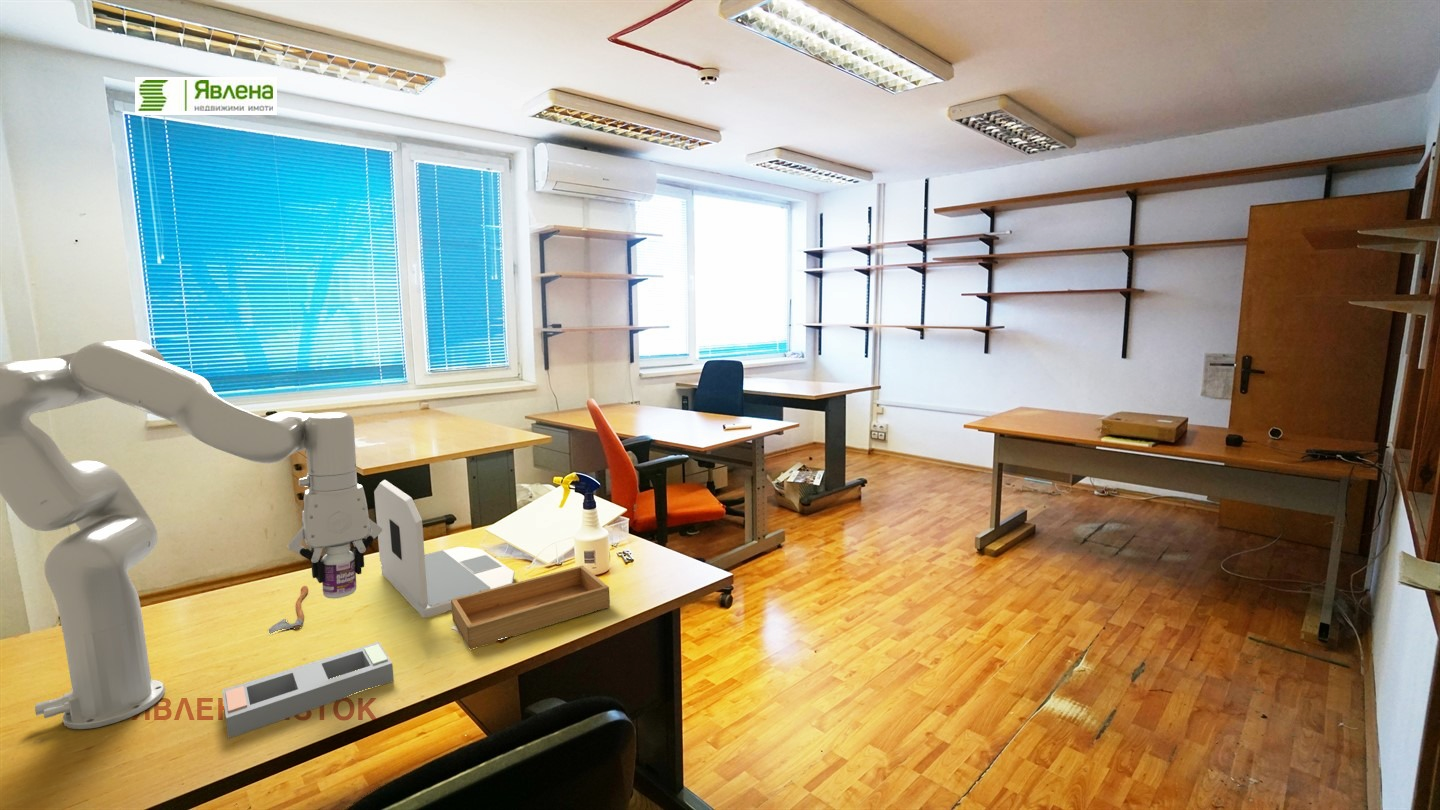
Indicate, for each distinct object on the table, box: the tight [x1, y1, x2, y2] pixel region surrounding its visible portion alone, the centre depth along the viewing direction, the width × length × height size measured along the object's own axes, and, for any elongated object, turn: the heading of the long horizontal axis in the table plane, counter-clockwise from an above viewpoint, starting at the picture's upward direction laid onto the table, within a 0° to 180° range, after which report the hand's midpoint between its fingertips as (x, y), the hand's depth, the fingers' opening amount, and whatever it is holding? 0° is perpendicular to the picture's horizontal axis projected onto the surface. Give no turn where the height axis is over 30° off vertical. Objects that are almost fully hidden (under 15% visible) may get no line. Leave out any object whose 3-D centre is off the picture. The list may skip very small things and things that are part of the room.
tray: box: [451, 565, 611, 650], centre depth 140 cm, size 31×15×6 cm, turn 125°
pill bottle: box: [321, 542, 357, 599], centre depth 116 cm, size 5×5×10 cm
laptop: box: [373, 479, 515, 619], centre depth 157 cm, size 33×24×26 cm
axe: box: [268, 585, 309, 634], centre depth 142 cm, size 22×6×2 cm, turn 30°
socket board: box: [221, 641, 395, 739], centre depth 111 cm, size 24×10×4 cm, turn 131°
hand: (339, 575), depth 116 cm, fingers closed on pill bottle, 5 cm apart
